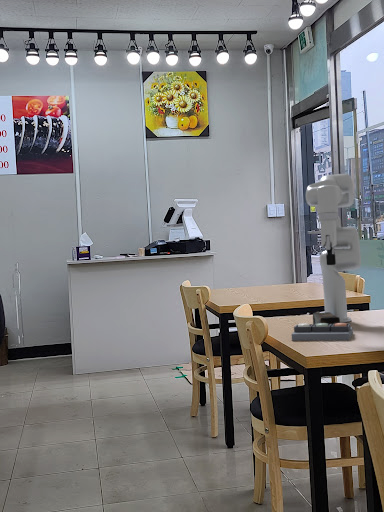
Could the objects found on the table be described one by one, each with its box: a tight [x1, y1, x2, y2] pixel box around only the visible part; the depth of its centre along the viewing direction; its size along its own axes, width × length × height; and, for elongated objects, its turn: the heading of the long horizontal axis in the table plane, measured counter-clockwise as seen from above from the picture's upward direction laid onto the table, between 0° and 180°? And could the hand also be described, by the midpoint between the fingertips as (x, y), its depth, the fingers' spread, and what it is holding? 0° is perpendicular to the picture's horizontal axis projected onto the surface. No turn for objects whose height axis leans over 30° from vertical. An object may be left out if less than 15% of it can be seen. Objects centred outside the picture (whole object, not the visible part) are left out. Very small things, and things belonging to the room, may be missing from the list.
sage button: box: [316, 323, 328, 327], centre depth 241 cm, size 4×4×2 cm
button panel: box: [291, 323, 354, 342], centre depth 241 cm, size 14×21×4 cm, turn 70°
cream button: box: [298, 322, 310, 327], centre depth 244 cm, size 4×4×2 cm
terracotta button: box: [335, 322, 348, 326], centre depth 239 cm, size 4×4×2 cm
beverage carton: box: [312, 311, 340, 325], centre depth 259 cm, size 8×19×7 cm, turn 179°
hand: (331, 264), depth 245 cm, fingers closed
